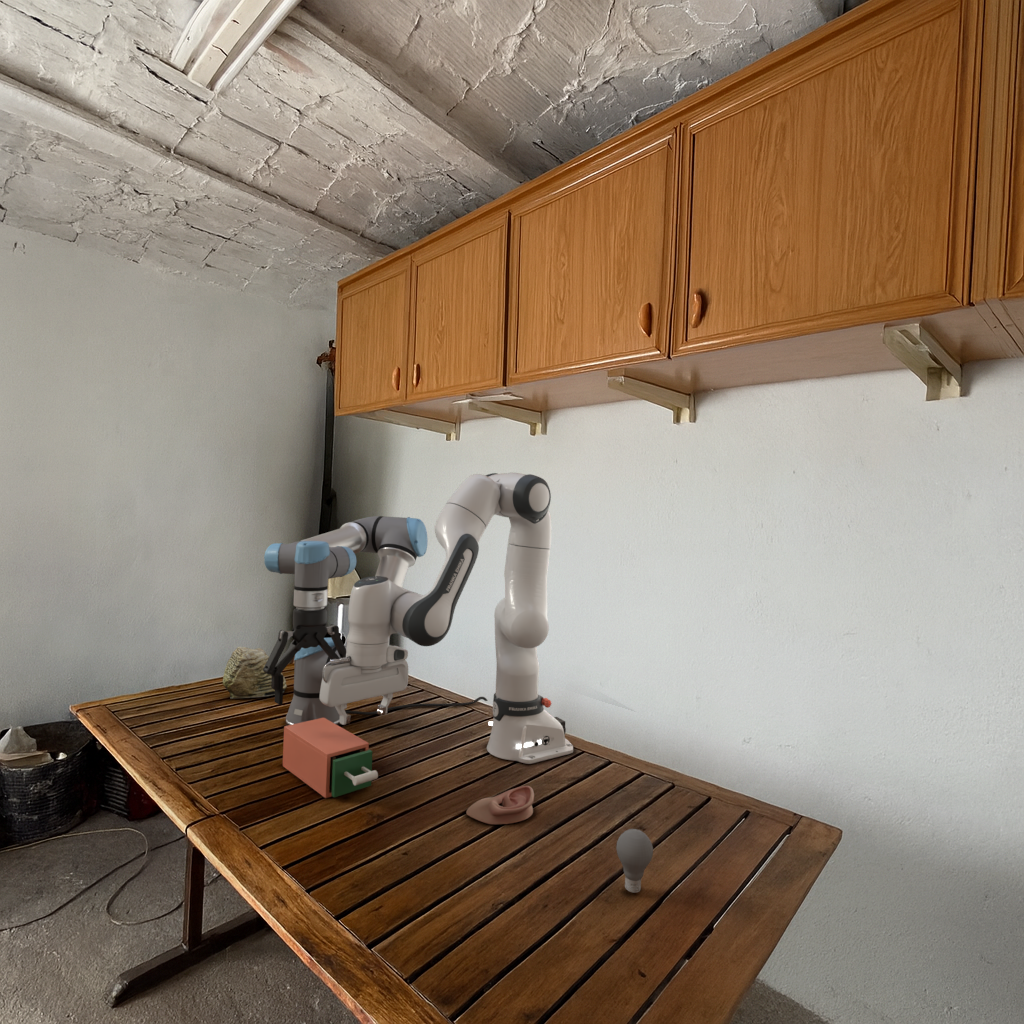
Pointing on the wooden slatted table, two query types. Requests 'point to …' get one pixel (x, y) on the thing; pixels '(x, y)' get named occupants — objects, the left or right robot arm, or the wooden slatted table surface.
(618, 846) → the light bulb
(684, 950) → the wooden slatted table surface
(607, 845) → the wooden slatted table surface
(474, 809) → the anatomical model
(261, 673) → the fossil
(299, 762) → the cabinet
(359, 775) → the drawer
